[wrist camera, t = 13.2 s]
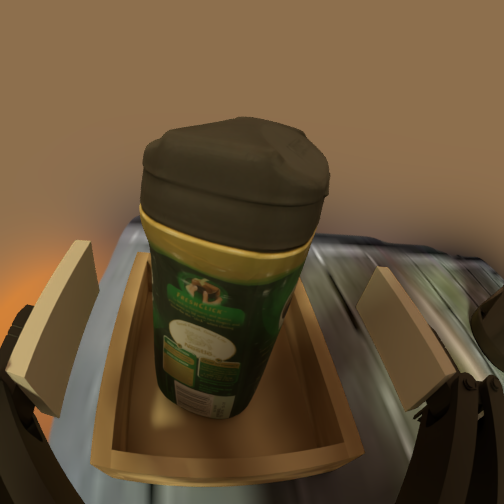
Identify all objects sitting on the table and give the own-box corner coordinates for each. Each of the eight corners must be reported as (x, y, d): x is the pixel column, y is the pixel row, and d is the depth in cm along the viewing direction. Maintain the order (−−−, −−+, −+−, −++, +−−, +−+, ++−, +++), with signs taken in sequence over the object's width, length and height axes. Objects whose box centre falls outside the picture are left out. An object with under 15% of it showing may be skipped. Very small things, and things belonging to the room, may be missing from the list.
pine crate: (282, 299, 32) (294, 264, 29) (332, 470, 15) (365, 453, 13) (140, 290, 28) (137, 252, 26) (112, 477, 12) (90, 463, 9)
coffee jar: (192, 315, 26) (215, 105, 16) (271, 343, 25) (340, 133, 15) (140, 394, 18) (105, 116, 8) (239, 436, 16) (351, 164, 6)
